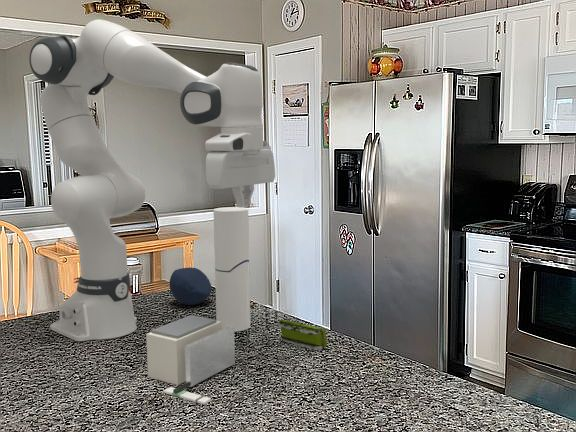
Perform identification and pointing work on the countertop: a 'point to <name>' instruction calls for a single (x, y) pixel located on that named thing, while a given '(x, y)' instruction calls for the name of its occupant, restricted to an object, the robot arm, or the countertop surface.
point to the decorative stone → (190, 286)
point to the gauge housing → (176, 351)
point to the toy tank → (302, 334)
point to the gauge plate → (208, 356)
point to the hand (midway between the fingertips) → (243, 206)
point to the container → (232, 267)
